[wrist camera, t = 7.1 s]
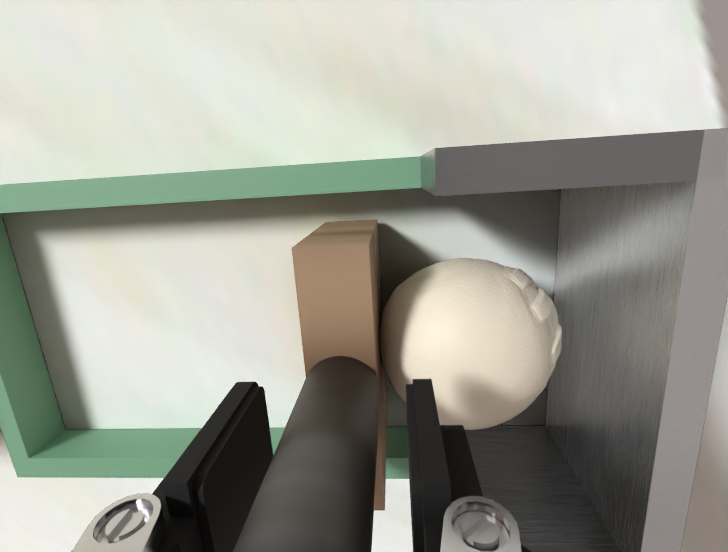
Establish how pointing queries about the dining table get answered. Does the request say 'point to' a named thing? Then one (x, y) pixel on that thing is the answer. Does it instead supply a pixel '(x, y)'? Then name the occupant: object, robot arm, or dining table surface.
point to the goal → (612, 333)
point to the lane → (22, 348)
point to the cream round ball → (471, 339)
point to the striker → (330, 405)
